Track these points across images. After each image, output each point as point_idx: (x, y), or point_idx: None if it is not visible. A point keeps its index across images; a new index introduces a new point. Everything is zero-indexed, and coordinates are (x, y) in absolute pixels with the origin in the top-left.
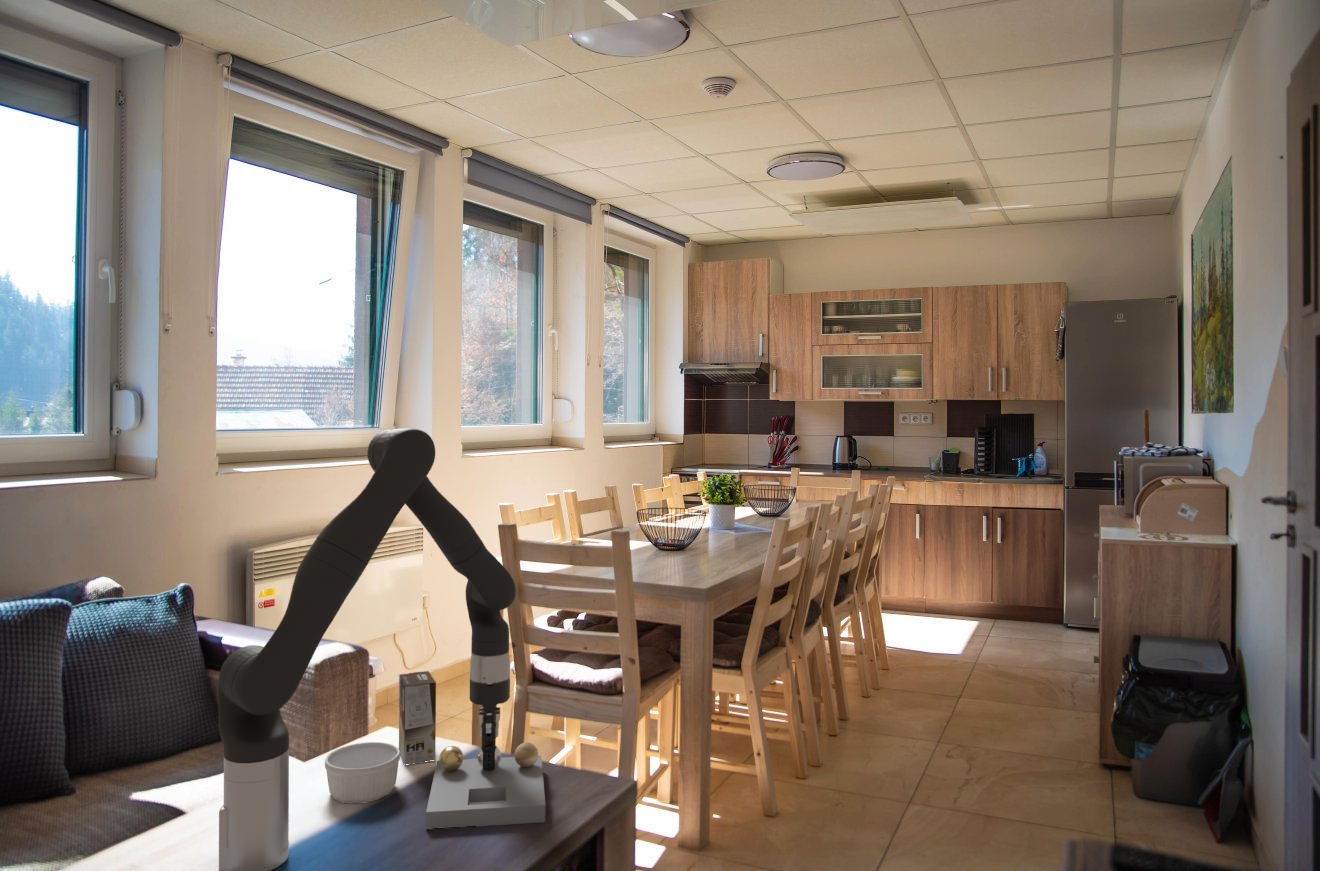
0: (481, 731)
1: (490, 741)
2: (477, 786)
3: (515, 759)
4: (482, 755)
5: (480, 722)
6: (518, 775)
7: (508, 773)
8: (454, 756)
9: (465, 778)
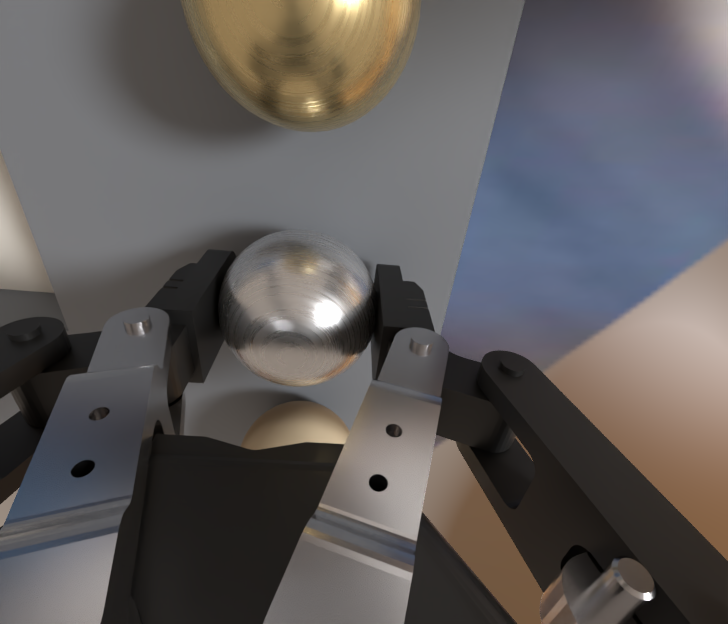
0: (60, 431)
1: (376, 364)
2: (49, 196)
3: (280, 411)
4: (228, 282)
5: (7, 535)
6: (206, 384)
7: (230, 351)
8: (193, 32)
9: (162, 125)
